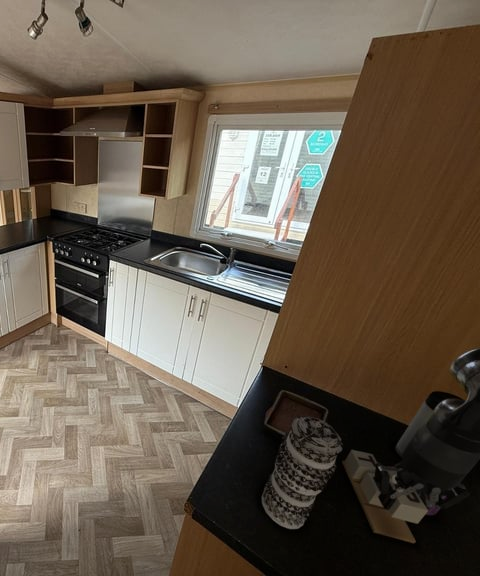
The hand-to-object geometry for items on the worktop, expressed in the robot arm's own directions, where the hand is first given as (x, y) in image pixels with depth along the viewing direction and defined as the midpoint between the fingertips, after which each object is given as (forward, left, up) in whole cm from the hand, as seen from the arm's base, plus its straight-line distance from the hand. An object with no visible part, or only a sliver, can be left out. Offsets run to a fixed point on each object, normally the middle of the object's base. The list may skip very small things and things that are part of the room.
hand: (398, 508), depth 63 cm
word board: (0, -5, -6) cm, 8 cm away
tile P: (0, 0, 0) cm, 0 cm away
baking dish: (+14, -19, -6) cm, 24 cm away
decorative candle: (+20, +3, -6) cm, 22 cm away
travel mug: (-15, -20, -6) cm, 26 cm away
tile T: (+1, -11, -5) cm, 12 cm away
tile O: (0, -5, -5) cm, 7 cm away
